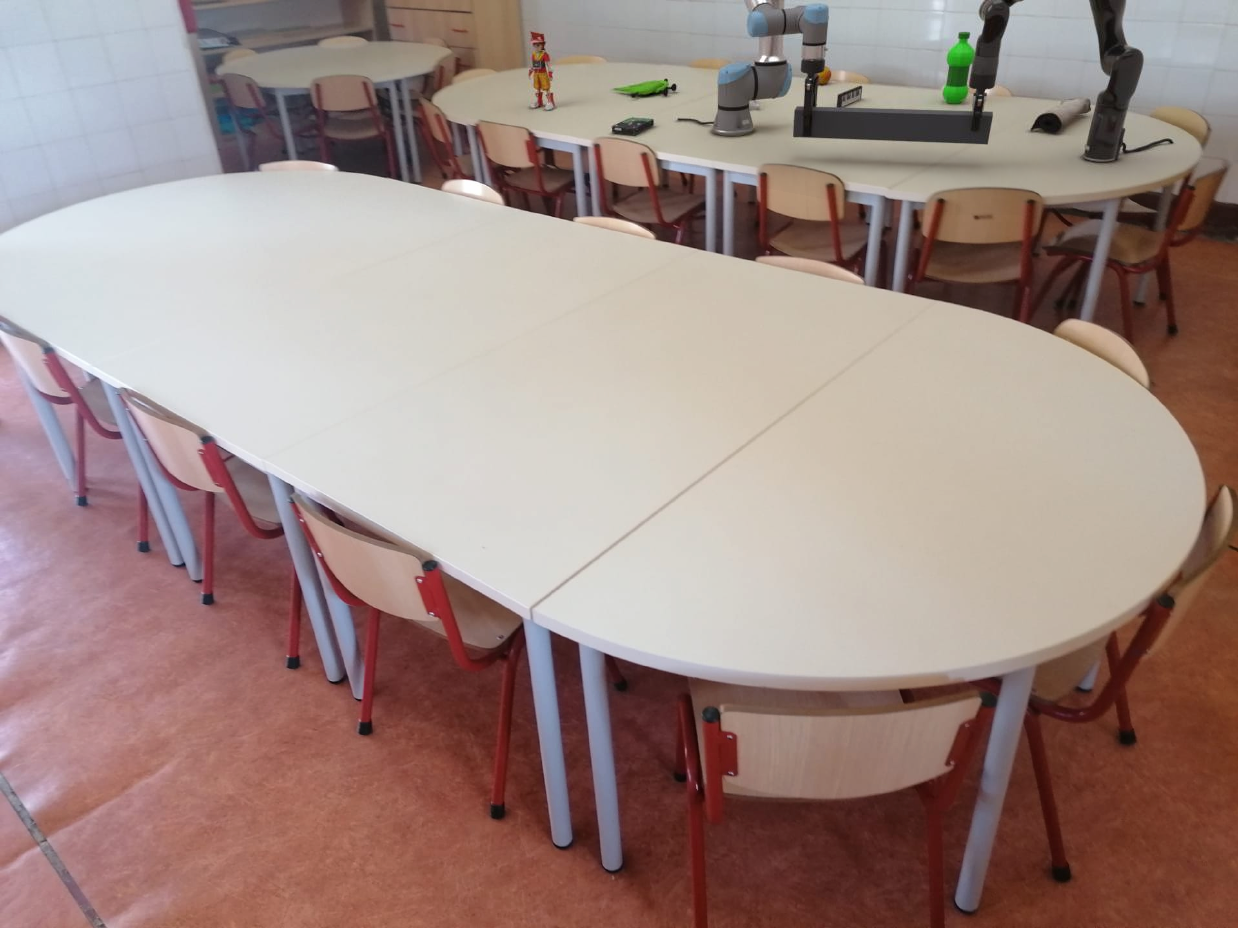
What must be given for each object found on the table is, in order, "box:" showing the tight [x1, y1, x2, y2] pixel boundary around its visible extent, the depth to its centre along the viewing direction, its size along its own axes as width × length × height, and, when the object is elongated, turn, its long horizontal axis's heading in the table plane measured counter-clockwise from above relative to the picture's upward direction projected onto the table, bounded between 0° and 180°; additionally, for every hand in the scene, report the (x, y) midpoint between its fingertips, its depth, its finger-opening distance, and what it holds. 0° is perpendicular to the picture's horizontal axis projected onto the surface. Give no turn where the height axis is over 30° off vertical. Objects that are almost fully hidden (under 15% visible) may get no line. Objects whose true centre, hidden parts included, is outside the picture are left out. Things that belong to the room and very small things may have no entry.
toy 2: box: [612, 78, 677, 99], centre depth 396 cm, size 28×5×30 cm
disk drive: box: [611, 116, 655, 136], centre depth 345 cm, size 10×3×15 cm
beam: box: [792, 105, 994, 145], centre depth 289 cm, size 61×5×9 cm, turn 71°
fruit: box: [817, 65, 832, 85], centre depth 390 cm, size 8×8×8 cm
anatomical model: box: [749, 100, 762, 110], centre depth 364 cm, size 15×10×10 cm
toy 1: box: [527, 31, 556, 111], centre depth 374 cm, size 12×9×30 cm
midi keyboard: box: [836, 85, 863, 108], centre depth 360 cm, size 18×1×5 cm, turn 138°
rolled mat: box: [1030, 97, 1092, 134], centre depth 321 cm, size 30×9×10 cm
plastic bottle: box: [942, 31, 975, 104], centre depth 348 cm, size 10×10×25 cm
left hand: (808, 133), depth 299 cm, fingers closed on beam, 5 cm apart
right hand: (974, 128), depth 282 cm, fingers closed on beam, 5 cm apart
